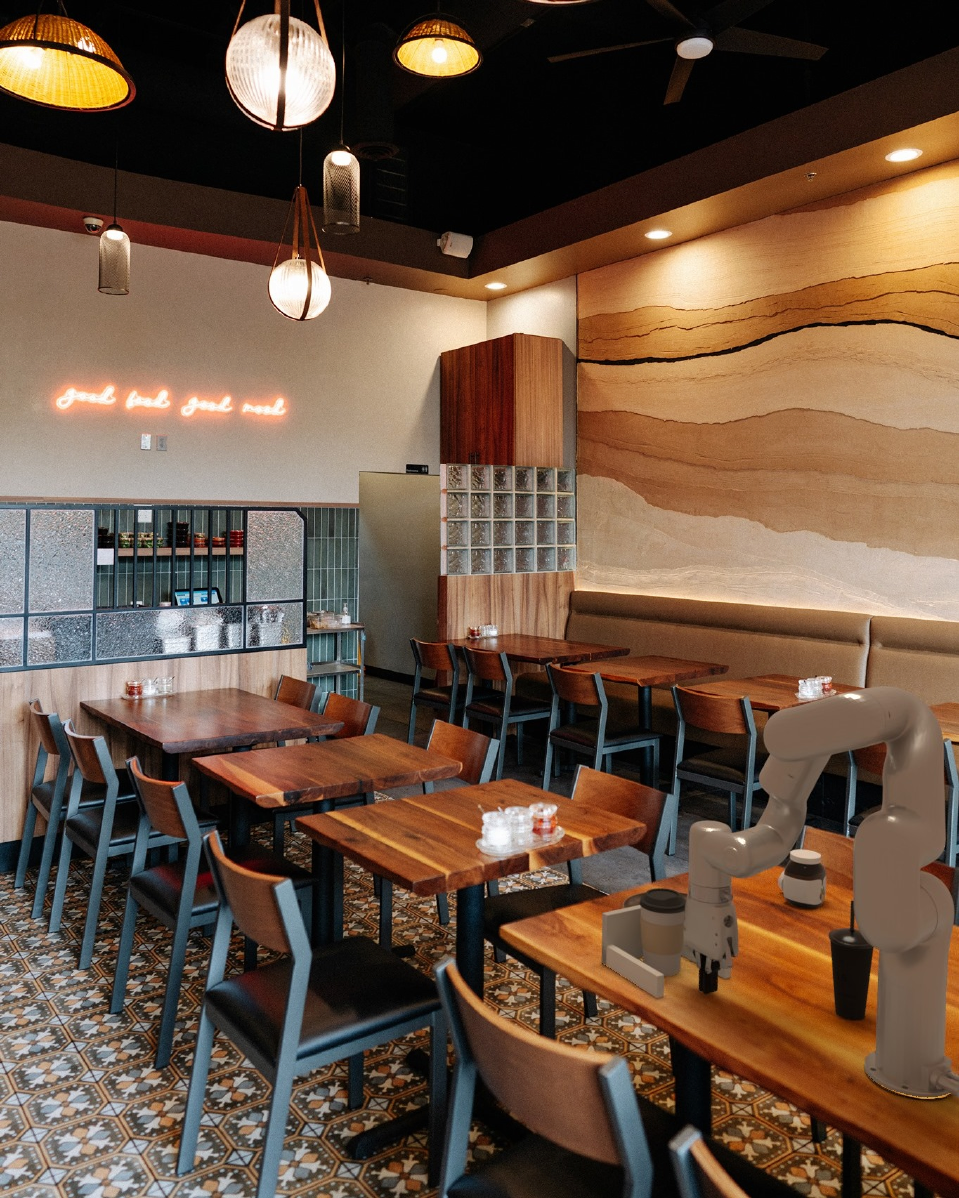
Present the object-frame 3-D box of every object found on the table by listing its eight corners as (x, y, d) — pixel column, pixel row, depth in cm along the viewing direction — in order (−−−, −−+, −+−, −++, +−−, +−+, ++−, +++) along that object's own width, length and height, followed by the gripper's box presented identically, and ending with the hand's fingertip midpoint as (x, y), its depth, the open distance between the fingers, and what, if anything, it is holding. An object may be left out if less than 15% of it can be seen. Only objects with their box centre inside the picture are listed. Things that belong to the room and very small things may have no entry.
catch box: (730, 977, 176) (731, 925, 176) (657, 998, 167) (658, 943, 167) (672, 945, 191) (673, 897, 190) (601, 963, 182) (602, 912, 181)
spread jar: (809, 913, 209) (810, 862, 209) (763, 899, 218) (765, 850, 217) (834, 900, 217) (835, 851, 217) (790, 888, 226) (791, 840, 225)
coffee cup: (628, 963, 182) (630, 887, 181) (666, 955, 186) (667, 881, 185) (657, 982, 174) (658, 903, 173) (695, 973, 178) (697, 896, 177)
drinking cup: (834, 999, 168) (837, 890, 167) (879, 1012, 163) (882, 900, 162) (820, 1015, 162) (823, 901, 161) (865, 1029, 157) (868, 912, 156)
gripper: (755, 900, 164) (753, 1003, 164) (696, 875, 177) (695, 970, 177) (724, 908, 160) (722, 1012, 161) (666, 882, 173) (664, 979, 174)
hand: (708, 990), depth 169 cm, fingers closed
